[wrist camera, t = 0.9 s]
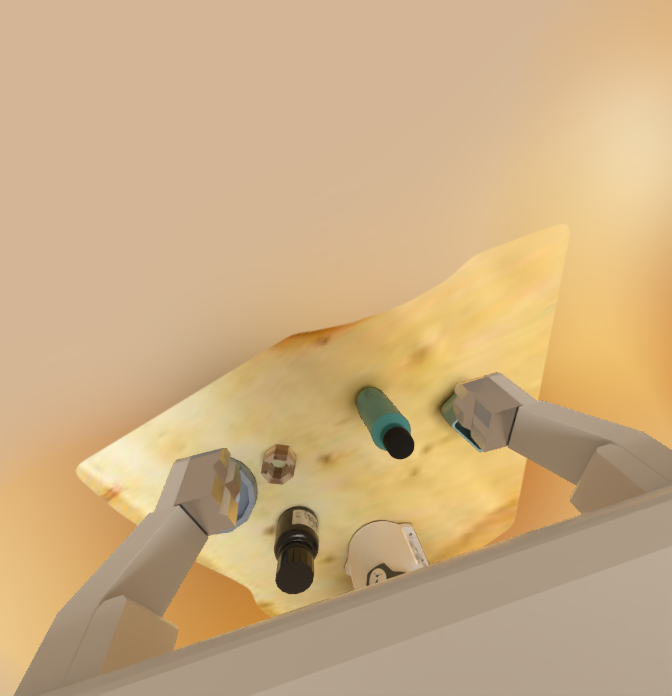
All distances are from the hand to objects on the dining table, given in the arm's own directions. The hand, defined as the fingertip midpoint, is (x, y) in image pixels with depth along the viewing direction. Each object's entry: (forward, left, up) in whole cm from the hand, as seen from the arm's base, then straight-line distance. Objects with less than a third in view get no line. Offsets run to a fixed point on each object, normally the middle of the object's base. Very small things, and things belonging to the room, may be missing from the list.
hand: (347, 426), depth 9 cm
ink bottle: (-33, +28, -44) cm, 62 cm away
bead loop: (-19, +22, -44) cm, 52 cm away
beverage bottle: (-18, -1, -44) cm, 47 cm away
